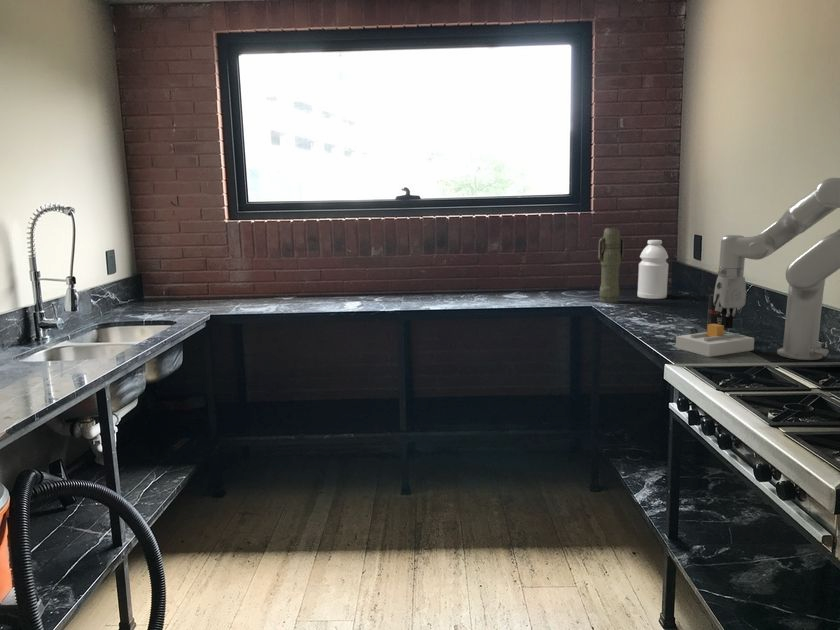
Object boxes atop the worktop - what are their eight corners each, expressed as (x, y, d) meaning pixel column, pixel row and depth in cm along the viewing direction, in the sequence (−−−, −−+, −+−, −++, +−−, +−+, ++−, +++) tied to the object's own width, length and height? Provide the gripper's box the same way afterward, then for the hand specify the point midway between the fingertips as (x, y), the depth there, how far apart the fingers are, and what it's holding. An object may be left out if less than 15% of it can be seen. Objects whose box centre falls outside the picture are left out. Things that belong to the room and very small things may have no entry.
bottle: (633, 294, 342) (636, 239, 337) (661, 294, 341) (664, 239, 336) (641, 299, 328) (644, 241, 323) (670, 299, 328) (673, 241, 323)
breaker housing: (753, 350, 222) (754, 335, 222) (708, 356, 214) (709, 341, 213) (719, 341, 235) (719, 327, 234) (675, 347, 227) (676, 333, 226)
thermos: (593, 300, 325) (595, 227, 318) (615, 299, 327) (618, 227, 321) (602, 303, 316) (605, 228, 310) (624, 302, 319) (628, 227, 313)
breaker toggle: (723, 337, 223) (724, 325, 222) (716, 338, 221) (717, 326, 221) (713, 335, 226) (714, 323, 226) (706, 336, 225) (707, 324, 224)
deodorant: (714, 338, 240) (716, 296, 237) (702, 335, 246) (705, 294, 243) (728, 337, 242) (731, 296, 239) (716, 334, 247) (719, 293, 245)
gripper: (723, 275, 216) (719, 331, 219) (756, 273, 222) (752, 327, 225) (705, 273, 223) (701, 327, 226) (738, 270, 229) (733, 323, 232)
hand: (726, 327), depth 226 cm, fingers closed
